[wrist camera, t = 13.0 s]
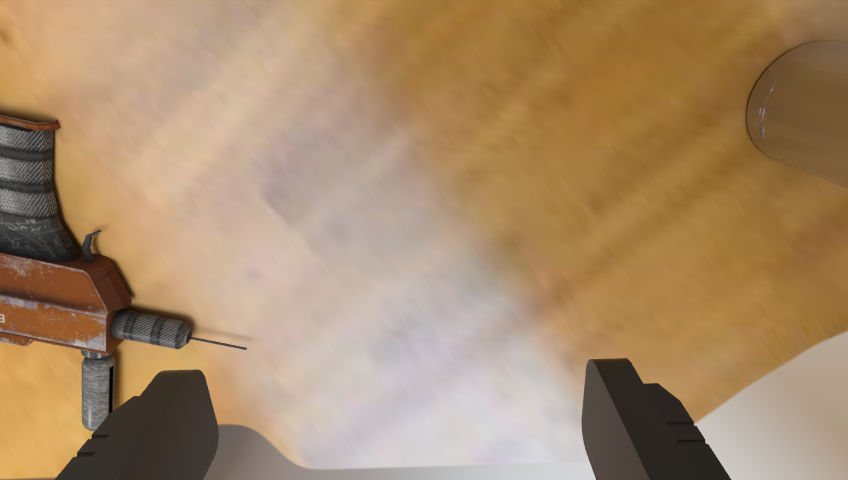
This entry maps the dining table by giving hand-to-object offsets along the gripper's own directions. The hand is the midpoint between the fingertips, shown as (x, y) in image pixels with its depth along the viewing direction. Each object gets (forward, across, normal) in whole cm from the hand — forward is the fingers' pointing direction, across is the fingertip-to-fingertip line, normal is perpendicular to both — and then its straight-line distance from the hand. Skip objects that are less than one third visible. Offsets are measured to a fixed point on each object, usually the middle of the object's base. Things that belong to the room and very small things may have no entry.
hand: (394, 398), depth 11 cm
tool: (+34, +30, +14) cm, 47 cm away
